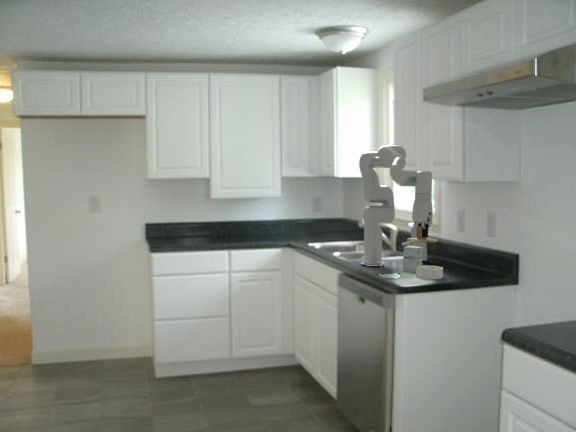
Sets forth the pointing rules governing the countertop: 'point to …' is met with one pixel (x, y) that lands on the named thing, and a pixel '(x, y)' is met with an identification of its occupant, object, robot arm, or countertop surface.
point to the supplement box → (412, 258)
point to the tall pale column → (419, 244)
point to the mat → (404, 276)
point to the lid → (420, 238)
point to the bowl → (429, 272)
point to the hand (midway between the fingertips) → (422, 236)
